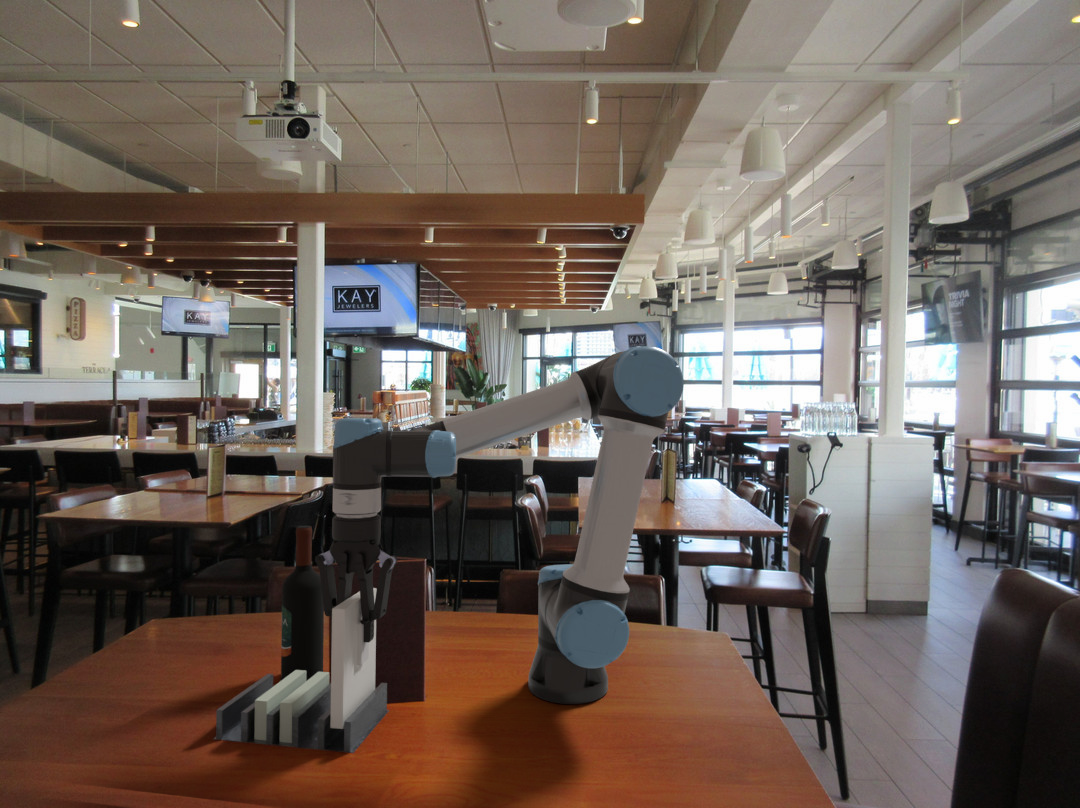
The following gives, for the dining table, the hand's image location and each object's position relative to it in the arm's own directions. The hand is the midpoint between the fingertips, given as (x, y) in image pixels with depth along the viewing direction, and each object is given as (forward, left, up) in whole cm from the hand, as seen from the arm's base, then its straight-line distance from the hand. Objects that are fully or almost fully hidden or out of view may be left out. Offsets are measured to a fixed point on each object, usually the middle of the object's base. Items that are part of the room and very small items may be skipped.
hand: (354, 660), depth 105 cm
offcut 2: (+8, 0, -11) cm, 14 cm away
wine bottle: (+18, -17, -12) cm, 28 cm away
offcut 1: (+13, 0, -11) cm, 17 cm away
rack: (+8, 0, -12) cm, 15 cm away
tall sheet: (0, 0, -8) cm, 8 cm away
